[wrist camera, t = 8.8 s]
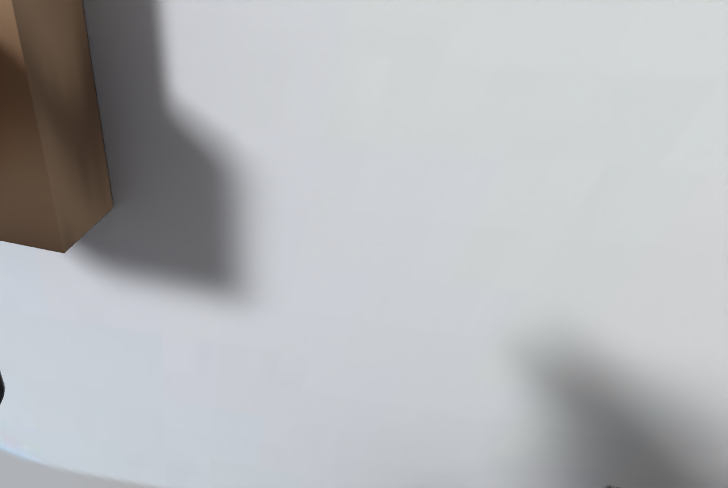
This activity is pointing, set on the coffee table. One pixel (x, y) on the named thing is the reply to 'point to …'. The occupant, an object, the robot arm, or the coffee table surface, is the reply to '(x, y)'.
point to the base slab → (49, 127)
